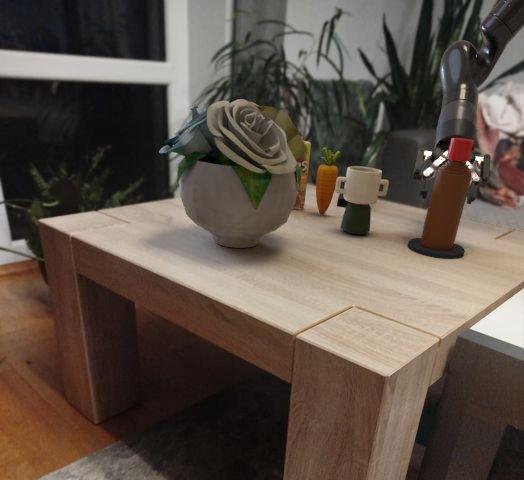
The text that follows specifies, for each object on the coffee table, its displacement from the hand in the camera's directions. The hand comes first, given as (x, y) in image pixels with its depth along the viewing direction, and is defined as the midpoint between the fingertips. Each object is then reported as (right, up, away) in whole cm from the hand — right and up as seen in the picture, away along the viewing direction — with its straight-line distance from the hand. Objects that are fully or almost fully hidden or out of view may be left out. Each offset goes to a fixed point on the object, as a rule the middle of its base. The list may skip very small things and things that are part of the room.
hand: (447, 199), depth 97 cm
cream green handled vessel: (-16, -4, +10) cm, 20 cm away
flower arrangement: (-41, -9, -2) cm, 42 cm away
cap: (0, +6, -5) cm, 8 cm away
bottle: (-1, -8, +3) cm, 9 cm away
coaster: (-1, -9, +3) cm, 10 cm away
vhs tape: (-12, +10, +37) cm, 40 cm away
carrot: (-22, +2, +21) cm, 31 cm away
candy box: (-30, +5, +26) cm, 40 cm away
